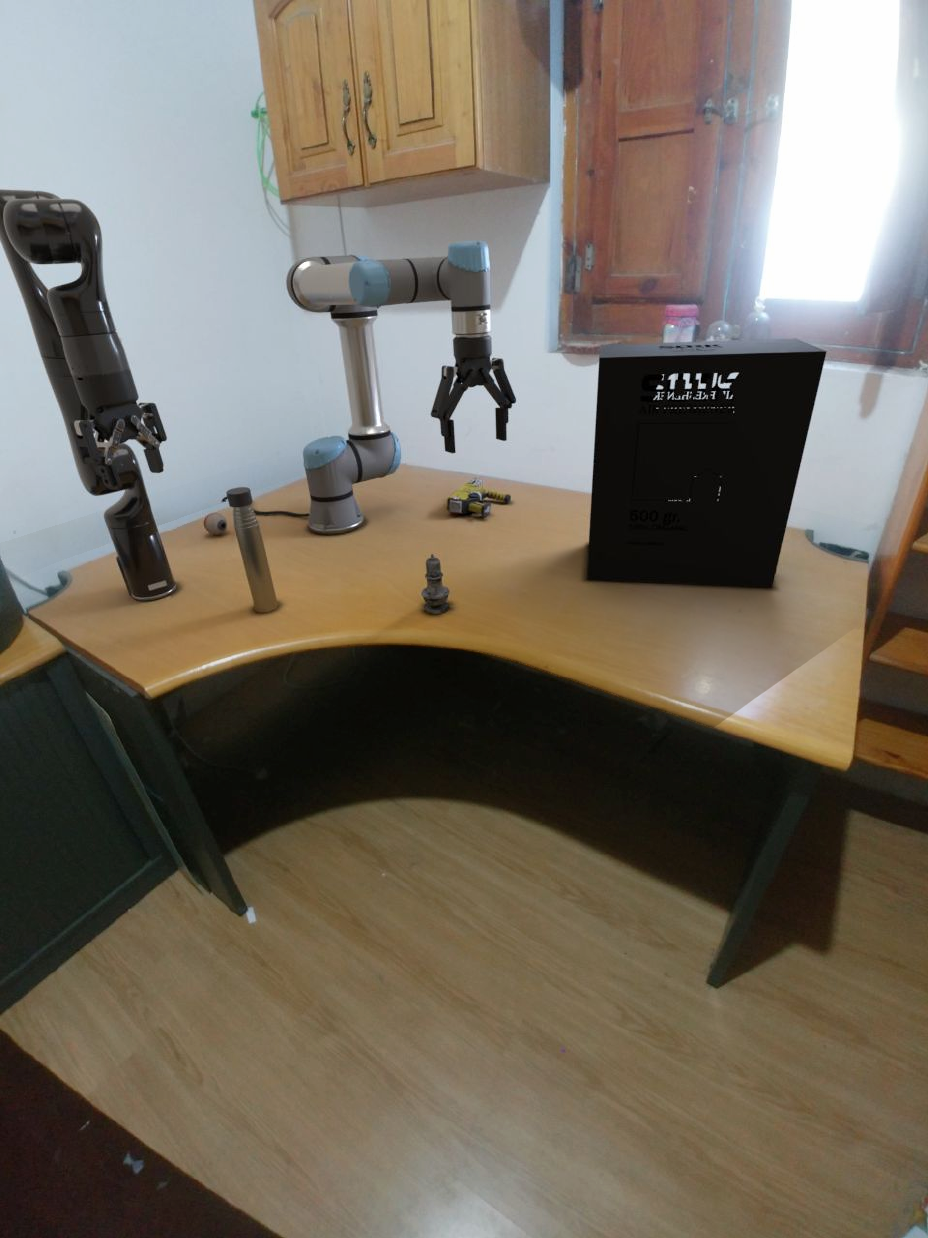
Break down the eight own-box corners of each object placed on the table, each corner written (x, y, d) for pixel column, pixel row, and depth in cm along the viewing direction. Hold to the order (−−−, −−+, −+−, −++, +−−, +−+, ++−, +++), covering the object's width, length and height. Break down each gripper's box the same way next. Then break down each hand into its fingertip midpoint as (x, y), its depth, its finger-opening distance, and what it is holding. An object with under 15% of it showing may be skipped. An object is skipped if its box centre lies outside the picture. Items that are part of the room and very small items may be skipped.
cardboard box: (752, 548, 142) (795, 338, 119) (772, 587, 124) (826, 351, 102) (589, 543, 149) (600, 344, 127) (586, 579, 132) (599, 357, 110)
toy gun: (519, 482, 184) (472, 475, 188) (496, 505, 164) (445, 497, 168) (517, 497, 186) (471, 490, 190) (495, 522, 166) (444, 513, 170)
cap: (245, 508, 115) (241, 494, 114) (224, 507, 116) (221, 493, 115) (257, 500, 119) (254, 487, 117) (237, 499, 120) (234, 486, 118)
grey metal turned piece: (447, 614, 122) (443, 560, 116) (419, 613, 123) (413, 559, 117) (453, 601, 127) (450, 548, 121) (426, 599, 128) (421, 547, 122)
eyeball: (217, 539, 164) (211, 518, 161) (202, 535, 167) (196, 515, 164) (234, 532, 168) (229, 511, 166) (220, 528, 172) (214, 508, 169)
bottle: (270, 613, 126) (242, 496, 114) (251, 611, 127) (220, 496, 115) (282, 603, 130) (255, 489, 118) (262, 601, 131) (234, 488, 119)
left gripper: (119, 361, 93) (152, 466, 101) (36, 377, 81) (80, 493, 89) (158, 361, 90) (188, 468, 99) (78, 376, 79) (119, 496, 87)
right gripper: (429, 342, 108) (437, 460, 118) (533, 329, 120) (532, 437, 131) (407, 340, 113) (417, 454, 124) (508, 328, 125) (510, 432, 136)
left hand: (137, 480), depth 94 cm, fingers open, 8 cm apart
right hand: (476, 445), depth 127 cm, fingers open, 13 cm apart
